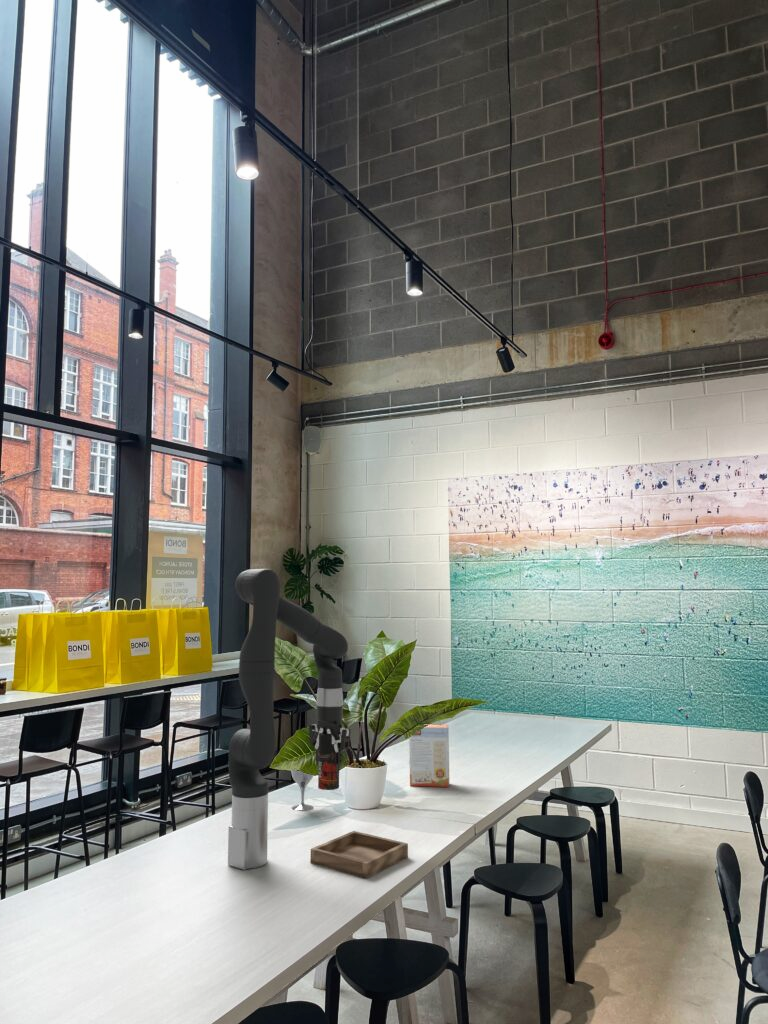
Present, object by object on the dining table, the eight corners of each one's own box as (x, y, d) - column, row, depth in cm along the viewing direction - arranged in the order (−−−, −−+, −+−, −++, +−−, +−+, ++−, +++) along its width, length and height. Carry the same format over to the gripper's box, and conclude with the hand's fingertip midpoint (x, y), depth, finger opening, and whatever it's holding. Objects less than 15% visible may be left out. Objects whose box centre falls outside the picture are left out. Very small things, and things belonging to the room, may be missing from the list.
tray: (366, 878, 183) (366, 863, 183) (310, 863, 193) (310, 848, 194) (407, 857, 197) (407, 843, 198) (353, 844, 208) (353, 830, 208)
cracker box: (449, 783, 273) (449, 724, 275) (448, 787, 267) (448, 727, 269) (411, 782, 275) (410, 723, 277) (409, 786, 269) (409, 726, 271)
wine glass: (285, 807, 243) (285, 759, 244) (304, 802, 248) (305, 755, 250) (300, 812, 237) (301, 763, 239) (320, 807, 243) (320, 759, 244)
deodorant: (313, 787, 214) (314, 733, 216) (327, 783, 219) (328, 730, 220) (329, 791, 210) (330, 736, 212) (343, 787, 215) (343, 733, 217)
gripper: (302, 702, 218) (301, 762, 216) (340, 707, 210) (340, 769, 208) (319, 700, 224) (318, 758, 222) (357, 704, 216) (356, 764, 214)
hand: (328, 763), depth 215 cm, fingers closed on deodorant, 6 cm apart
